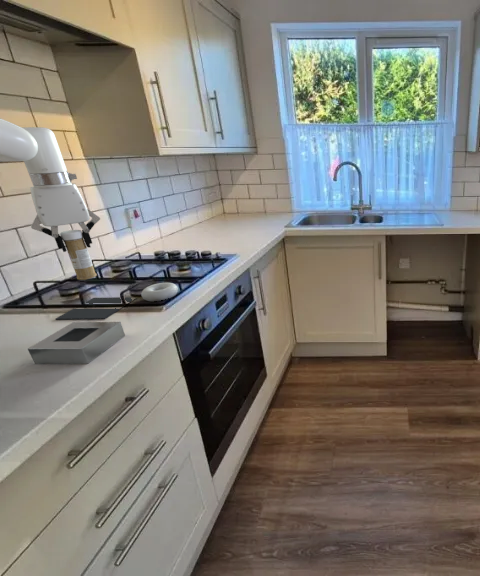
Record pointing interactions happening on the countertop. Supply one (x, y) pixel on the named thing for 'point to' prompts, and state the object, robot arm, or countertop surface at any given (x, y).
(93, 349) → the stand
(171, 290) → the donut
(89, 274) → the sprinkles bottle
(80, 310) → the mat
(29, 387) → the countertop surface
